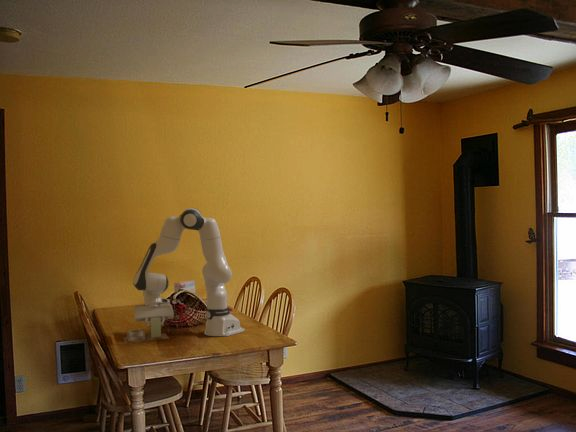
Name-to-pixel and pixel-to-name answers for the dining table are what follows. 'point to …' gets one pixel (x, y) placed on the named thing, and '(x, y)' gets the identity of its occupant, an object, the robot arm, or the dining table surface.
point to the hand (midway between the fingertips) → (155, 326)
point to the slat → (155, 327)
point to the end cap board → (141, 336)
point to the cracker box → (185, 286)
